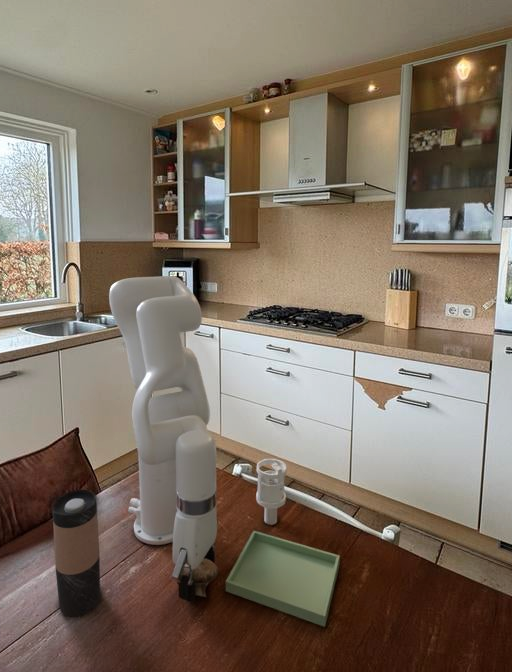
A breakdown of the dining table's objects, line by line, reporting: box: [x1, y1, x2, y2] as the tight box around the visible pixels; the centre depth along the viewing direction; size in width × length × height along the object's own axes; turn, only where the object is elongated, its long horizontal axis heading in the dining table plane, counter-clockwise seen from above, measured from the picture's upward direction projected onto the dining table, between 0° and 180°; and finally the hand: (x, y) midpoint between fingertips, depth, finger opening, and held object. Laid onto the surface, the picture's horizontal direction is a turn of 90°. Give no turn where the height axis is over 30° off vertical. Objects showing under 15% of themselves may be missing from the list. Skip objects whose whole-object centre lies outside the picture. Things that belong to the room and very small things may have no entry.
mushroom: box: [175, 558, 219, 598], centre depth 81 cm, size 8×8×6 cm
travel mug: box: [52, 489, 101, 618], centre depth 78 cm, size 8×8×20 cm
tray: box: [225, 530, 341, 628], centre depth 84 cm, size 19×15×2 cm
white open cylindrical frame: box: [255, 458, 288, 526], centre depth 100 cm, size 7×7×15 cm
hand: (197, 581), depth 82 cm, fingers closed on mushroom, 7 cm apart
